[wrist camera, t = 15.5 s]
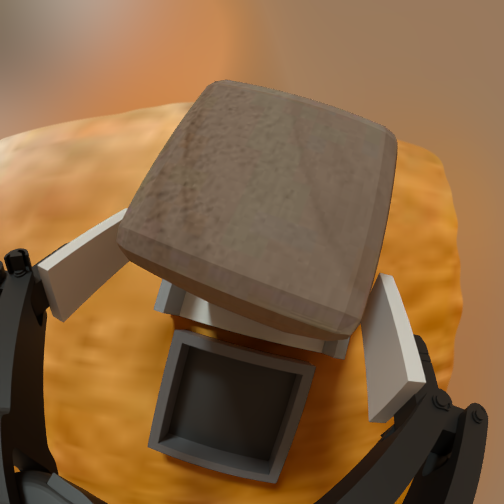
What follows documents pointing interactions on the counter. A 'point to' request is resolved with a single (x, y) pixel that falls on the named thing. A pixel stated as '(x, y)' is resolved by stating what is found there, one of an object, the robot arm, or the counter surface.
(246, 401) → the box
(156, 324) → the counter surface
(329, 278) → the wooden block
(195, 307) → the walled bay
